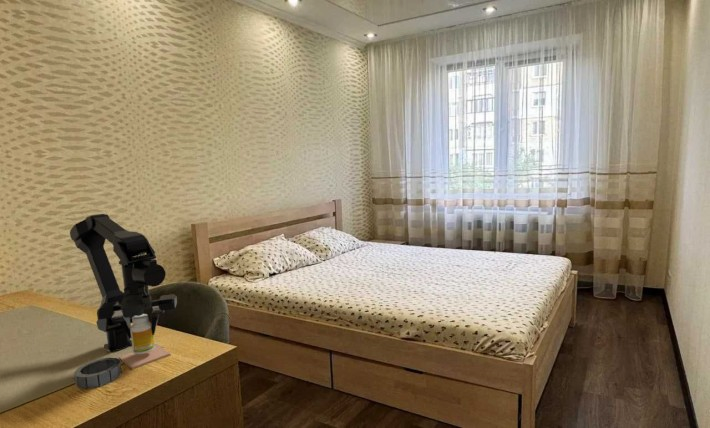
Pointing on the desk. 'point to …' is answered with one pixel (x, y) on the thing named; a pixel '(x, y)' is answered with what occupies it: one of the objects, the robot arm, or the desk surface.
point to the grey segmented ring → (90, 376)
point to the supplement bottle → (141, 334)
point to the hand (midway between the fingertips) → (142, 336)
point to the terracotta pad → (144, 357)
